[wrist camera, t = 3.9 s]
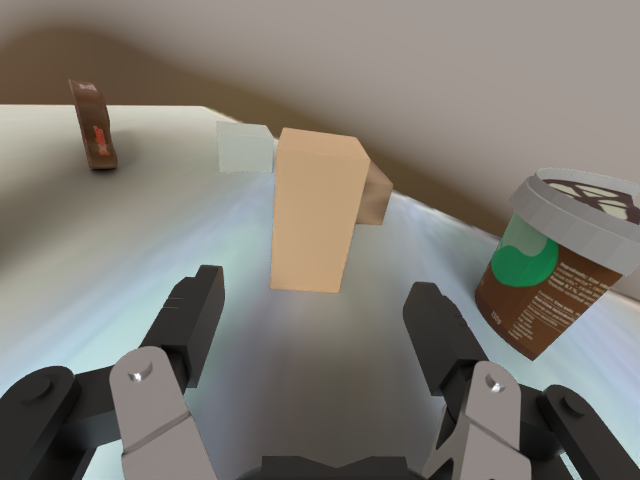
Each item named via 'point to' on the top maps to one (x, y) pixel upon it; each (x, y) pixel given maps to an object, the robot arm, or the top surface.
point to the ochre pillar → (315, 208)
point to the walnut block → (374, 197)
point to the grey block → (244, 148)
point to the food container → (558, 255)
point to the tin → (94, 125)
